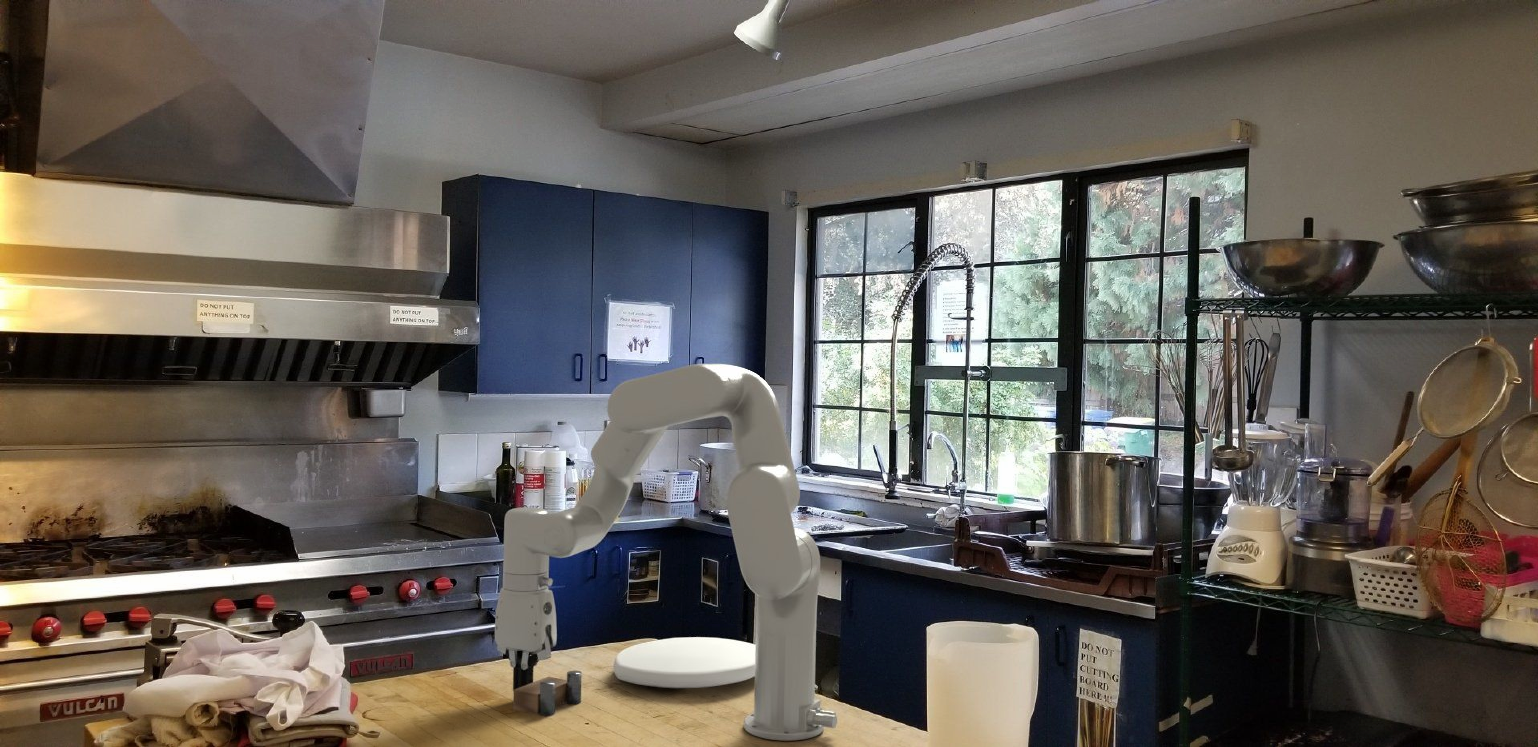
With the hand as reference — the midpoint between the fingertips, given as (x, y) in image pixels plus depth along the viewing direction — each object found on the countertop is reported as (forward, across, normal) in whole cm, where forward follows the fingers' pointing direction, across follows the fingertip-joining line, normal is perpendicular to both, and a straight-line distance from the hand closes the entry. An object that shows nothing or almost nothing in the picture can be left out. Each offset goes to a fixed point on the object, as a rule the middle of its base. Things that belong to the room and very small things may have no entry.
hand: (522, 689), depth 185 cm
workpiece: (+2, -4, 0) cm, 5 cm away
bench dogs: (+2, -8, 0) cm, 8 cm away
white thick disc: (+2, -17, -27) cm, 32 cm away
